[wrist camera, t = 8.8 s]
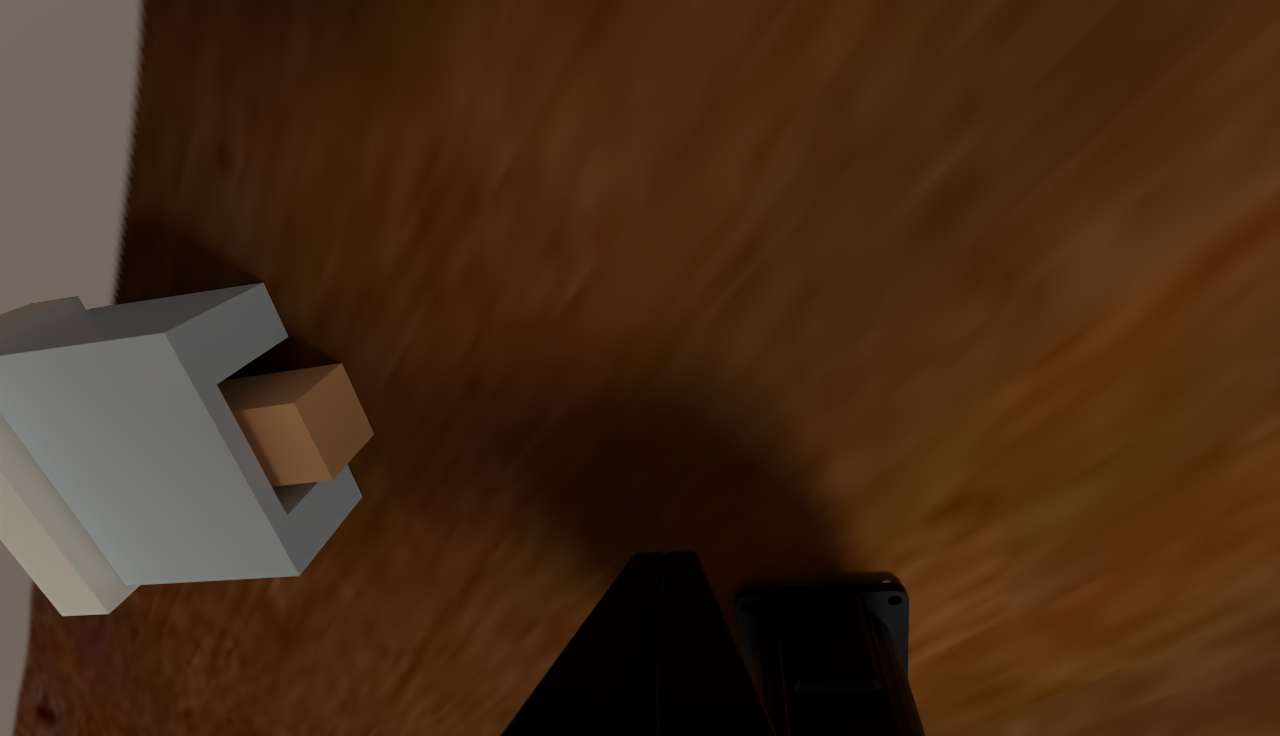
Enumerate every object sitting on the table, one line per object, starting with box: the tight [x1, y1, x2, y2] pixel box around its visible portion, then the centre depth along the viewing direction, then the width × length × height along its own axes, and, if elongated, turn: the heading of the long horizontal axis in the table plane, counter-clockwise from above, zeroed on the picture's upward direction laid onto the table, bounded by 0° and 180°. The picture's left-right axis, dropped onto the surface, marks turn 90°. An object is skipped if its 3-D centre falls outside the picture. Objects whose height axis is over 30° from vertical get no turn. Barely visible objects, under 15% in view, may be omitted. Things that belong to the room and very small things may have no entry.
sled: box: [0, 283, 362, 586], centre depth 21 cm, size 9×7×4 cm
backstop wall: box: [0, 296, 140, 616], centre depth 22 cm, size 10×2×5 cm, turn 10°
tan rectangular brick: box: [217, 363, 374, 487], centre depth 22 cm, size 3×6×3 cm, turn 101°
